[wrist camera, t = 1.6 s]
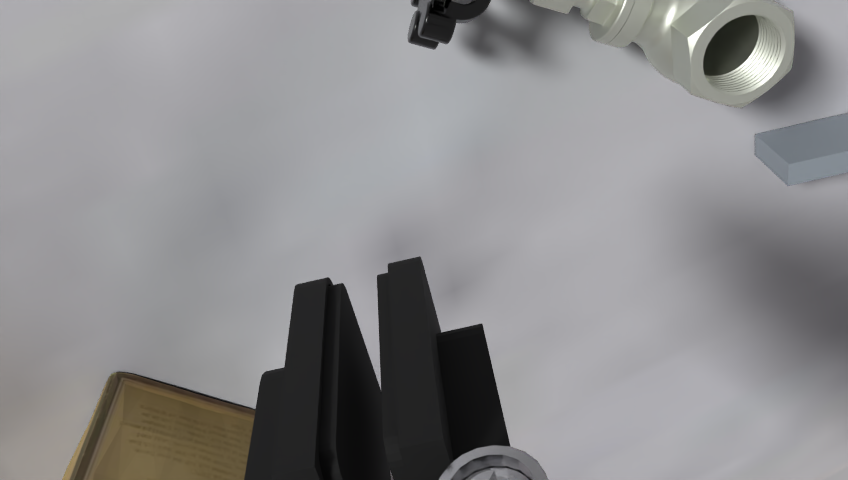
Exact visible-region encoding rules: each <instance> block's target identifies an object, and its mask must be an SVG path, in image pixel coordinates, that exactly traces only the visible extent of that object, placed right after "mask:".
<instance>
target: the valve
mask: <svg viewBox="0 0 848 480" xmlns="http://www.w3.org/2000/svg"><path fill="white" fill-rule="evenodd" d="M490 1H491V0H472V2H471V3H469V4H459V3H456V2H452V1H451V0H411V5H412V6H414V7H417V8H418V10H417V11H415V13H414V15H413V17H412V20H411V24H410V28H409V32H408V42H409V43H411V44H415V45H418V46H422V47H426V48H429V49H433V50H434V49H436V47H437V46H438V43H439V42H440V43H444V44H448V43H449V42H450V40H451V38H452V35H453V32H454V29H455V25H456V23H466V22H470V21H472V20H474V19H476V18H477V17H478V16H480V15H481V14H482V13H483V12H484V11H485V10H486V8H487V7H488V5H489V3H490ZM529 1H530V2H531V3H532V4H534V5H537V6H541V7H544V8H547V9H551V10H554V11H557V12H561V13H564V14H568V13H569V11H570V10H571V8H572V6H575V7H579V8H580V14H581V16H582V17H583V18H585V19H586V20H588V21H589V31H590V36H591V37H592V39H593V40H594V41H596V42H600V43H603V44H606V45H610V46H613V47H617V48H624V47H625V46H627V45H629V44H630V43H631V42H635V43H636V44H637V45H638V46H639V47H641V48H642V49H643V51H644V53H645V55H646V57H647V59H648V61H649V62H650V63H651V65H652V66H653V67H654V69H656V70H657V71H658V72H659V73H660V74H661V75H662V76H664V77H665V78H667V79H669V80H670V81H672V82H675V83H677V84H680V85H681V86H682V87H683V88H684V89H685V90H686V91H687V92H689V93H690V94H691V95H694V96H697V97H700V98H703V99H706V100H710V101H713V102H716V103H720V104H724V105H727V106H732V107H736V108H743V107H744V106H746V105H748V104H749V103H751V102H752V101H754V100H755V99H757V98H758V97H760V96H761V95H762V94H764V93H765V92H767V91H768V90H769V89H770V88H772V87H773V86H774V85H775V84H776V83H778V82H779V81H780V80H781V79H782V78H783V77H784V76H785V75H786V74H787V73H788V72H789V71H790V70H791V69H792V64H793V57H794V44H795V31H794V15H793V11H792V10H790V9H788V8H786V7H784V6H782V5H781V4H779V3H777V2H775V1H773V0H529Z"/></svg>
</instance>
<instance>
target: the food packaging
mask: <svg viewBox="0 0 848 480" xmlns="http://www.w3.org/2000/svg"><path fill="white" fill-rule="evenodd" d="M254 417H255V410H252V409H249V408H246V407H242V406H238V405H234V404H230V403H226V402H223V401H220V400H216V399H213V398H210V397H207V396H203V395H200V394H197V393H193V392H190V391H187V390H183V389H180V388H176V387H173V386H170V385H166V384H163V383H160V382H156V381H153V380H150V379H147V378H144V377H140V376H137V375H134V374H129V373H119V372H116V373H113V374H111V375H110V377H109V378H108V380H107V382H106V384H105V387H104V389H103V391H102V394H101V396H100V398H99V401H98V403H97V406H96V408H95V411H94V413H93V415H92V418H91V420H90V422H89V425H88V427H87V429H86V431H85V433H84V435H83V437H82V439H81V441H80V443H79V445H78V447H77V449H76V451H75V453H74V455H73V457H72V459H71V461H70V463H69V465H68V467H67V470H66V472H65V474H64V477H63V479H62V480H244V477H245V471H246V465H247V459H248V453H249V447H250V441H251V435H252V429H253V423H254Z"/></svg>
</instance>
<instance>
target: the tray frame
mask: <svg viewBox="0 0 848 480" xmlns="http://www.w3.org/2000/svg"><path fill="white" fill-rule="evenodd" d="M755 156H756V157H758V158H759V159H760V160H761V161H762V162H763V163H764V164H765V165H766V166H767V167H768V168H769V169H770V170H771V171H772V172H774V173H775V174H776V175H777V176H778V177H779V178H780V179H781V180H782V181H783V182H784V183H785V184H786V185H787V186H790V185H795V184H799V183H804V182H808V181H812V180H817V179H821V178H826V177H830V176H835V175H839V174H843V173H848V113H845V114H841V115H837V116H832V117H828V118H824V119H819V120H815V121H811V122H806V123H802V124H798V125H793V126H789V127H785V128H780V129H776V130H772V131H767V132H763V133H759V134H755Z"/></svg>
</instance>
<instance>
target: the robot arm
mask: <svg viewBox="0 0 848 480" xmlns="http://www.w3.org/2000/svg"><path fill="white" fill-rule="evenodd" d="M377 288H378V315H379V341H380V368H381V390H380V387H379V384H378V381H377V378H376V375H375V372H374V369H373V366H372V363H371V360H370V357H369V354H368V352H367V349H366V346H365V343H364V340H363V337H362V334H361V331H360V328H359V325H358V322H357V319H356V316H355V314H354V311H353V308H352V305H351V302H350V299H349V296H348V293H347V290H346V288H345V286H344V284H343V283H341V284H336V285H333V283H332V281H331V280H330V278H323V279H319V280H315V281H310V282H306V283H301V284H297V285H296V286H295V289H294V297H293V304H292V312H291V320H290V328H289V336H288V344H287V352H286V360H285V367H284V368H280V369H275V370H271V371H266V372H265V373H264V374H263V375H262V377H261V381H260V386H259V392H258V398H257V404H256V410H255V417H254V423H253V429H252V435H251V441H250V447H249V453H248V459H247V465H246V471H245V477H244V480H391V478H390V470H391V473H392V476H393V479H394V480H548V478H547V476H546V473H545V472H544V470H543V469H542V467H541V466H540V464H539V463H538V461H537V460H535V459H534V458H533V457H531V456H530V455H529V454H527V453H526V452H524V451H521V450H519V449H516V448H513V447H510V443H509V439H508V434H507V430H506V425H505V421H504V417H503V412H502V408H501V404H500V399H499V395H498V391H497V386H496V382H495V377H494V373H493V369H492V364H491V360H490V356H489V351H488V347H487V342H486V338H485V334H484V329H483V325H482V324H478V325H474V326H469V327H465V328H460V329H456V330H451V331H447V332H442V333H441V330H440V326H439V322H438V318H437V315H436V311H435V307H434V304H433V300H432V296H431V292H430V289H429V285H428V281H427V277H426V274H425V270H424V266H423V263H422V260H421V257H416V258H411V259H407V260H402V261H398V262H394V263H389V264H388V273H385V274H380V275H377Z"/></svg>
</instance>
